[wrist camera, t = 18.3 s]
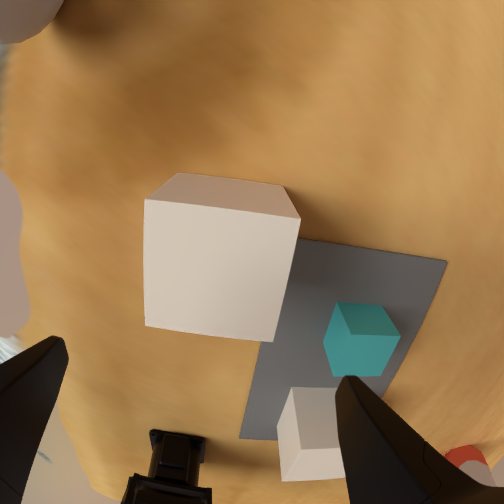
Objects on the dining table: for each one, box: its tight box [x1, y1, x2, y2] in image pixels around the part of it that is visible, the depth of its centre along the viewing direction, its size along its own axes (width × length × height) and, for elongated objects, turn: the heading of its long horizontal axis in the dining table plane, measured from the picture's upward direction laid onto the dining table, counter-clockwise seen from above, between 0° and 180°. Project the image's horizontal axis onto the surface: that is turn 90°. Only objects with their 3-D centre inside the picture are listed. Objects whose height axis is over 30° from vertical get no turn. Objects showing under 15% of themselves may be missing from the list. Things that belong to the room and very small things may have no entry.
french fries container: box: [444, 445, 496, 487], centre depth 31 cm, size 5×11×18 cm, turn 75°
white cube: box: [277, 387, 345, 481], centre depth 25 cm, size 7×7×7 cm
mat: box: [239, 238, 447, 440], centre depth 26 cm, size 24×14×1 cm, turn 172°
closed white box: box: [143, 172, 301, 342], centre depth 17 cm, size 7×7×7 cm
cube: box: [323, 302, 401, 377], centre depth 22 cm, size 4×4×4 cm
